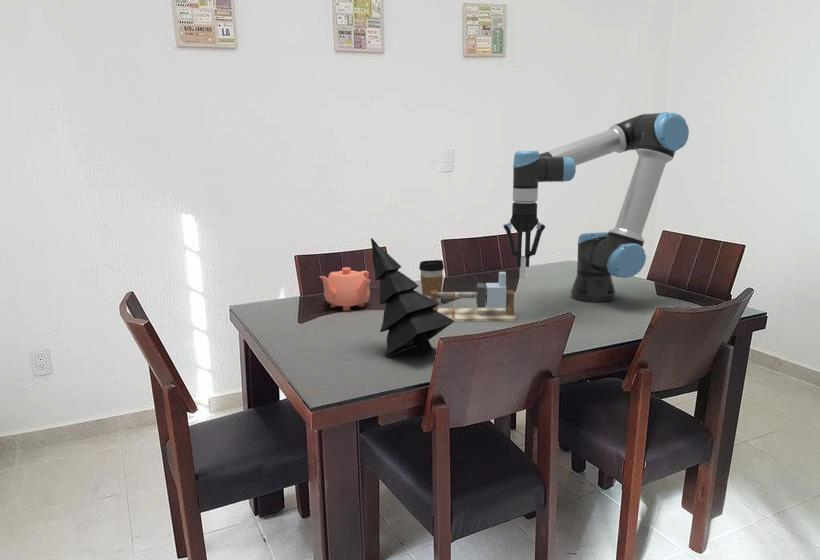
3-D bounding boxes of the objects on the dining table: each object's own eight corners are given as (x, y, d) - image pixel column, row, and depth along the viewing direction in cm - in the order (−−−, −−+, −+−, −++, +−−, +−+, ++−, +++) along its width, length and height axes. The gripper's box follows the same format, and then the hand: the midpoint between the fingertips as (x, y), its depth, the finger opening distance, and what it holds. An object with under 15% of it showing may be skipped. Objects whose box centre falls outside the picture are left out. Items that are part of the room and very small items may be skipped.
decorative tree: (428, 356, 173) (375, 247, 181) (462, 335, 163) (405, 221, 171) (391, 371, 163) (336, 254, 171) (424, 349, 153) (365, 227, 160)
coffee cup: (442, 307, 212) (441, 263, 208) (417, 306, 213) (417, 263, 210) (445, 301, 220) (445, 259, 216) (422, 300, 221) (421, 258, 218)
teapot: (371, 311, 208) (370, 271, 205) (320, 313, 206) (318, 274, 203) (370, 299, 223) (368, 262, 220) (322, 301, 222) (320, 264, 219)
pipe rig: (512, 311, 205) (512, 287, 204) (516, 321, 194) (517, 296, 192) (430, 311, 207) (429, 287, 205) (429, 321, 195) (429, 296, 193)
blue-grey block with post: (504, 302, 202) (504, 270, 200) (506, 307, 196) (506, 274, 193) (485, 302, 202) (485, 270, 200) (486, 307, 196) (487, 275, 194)
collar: (483, 302, 202) (484, 282, 201) (485, 307, 196) (485, 287, 195) (476, 302, 202) (476, 283, 201) (477, 307, 196) (477, 287, 195)
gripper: (544, 200, 195) (541, 274, 200) (502, 200, 195) (500, 274, 201) (548, 203, 188) (545, 279, 193) (504, 203, 188) (502, 279, 193)
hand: (522, 277), depth 197 cm, fingers closed
